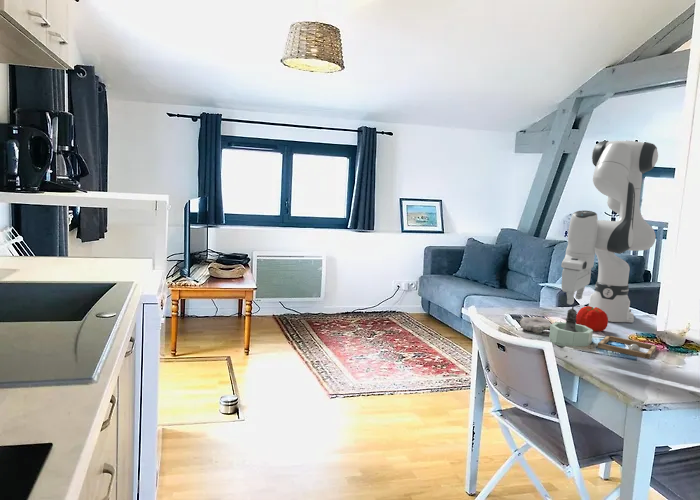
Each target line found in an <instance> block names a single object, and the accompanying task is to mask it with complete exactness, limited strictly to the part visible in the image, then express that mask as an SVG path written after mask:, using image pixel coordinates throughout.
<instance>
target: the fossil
mask: <svg viewBox="0 0 700 500" xmlns="http://www.w3.org/2000/svg"><path fill="white" fill-rule="evenodd" d="M551 324H552V323H551V322H550V320H549V319H548V318H545V317H541V316H531V317H527V316H524V317H522V318H521V320H520V321H519V325H520V327H521V329H523V330H524V331H526V330H527V332H533V333H534V334H541V333H542V332H543V331H545V330H546V331H547V330H550V325H551Z"/></svg>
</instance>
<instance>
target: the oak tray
mask: <svg viewBox="0 0 700 500" xmlns="http://www.w3.org/2000/svg"><path fill="white" fill-rule="evenodd" d="M609 341H610V342H615V341H616V342H615V343H619V342H620V344H625V345H628V346H630V345H631V344H636V345H638V346H639V348H643V349H646V350H647V349H648V351H647V352H641V351H640V350H639V351H640V352H639V351H634V350H630V349H628V348H623V347H621V346H620V347H619V346H616V345H615V346H614V345H611V344H607V343H608V342H609ZM597 348H598V349H602V350H607V351H611V352H616V353H621V354H625V355H629V356H633V357H637V358H641V359H642V358H643V359H646V360H649V359H650V358H651V357H652V356H653V354H654V353H655V352H656V350H657V345H655V344H653V343H646V342H641V341H637V340H632V339H626V338H623V337H617V336H615V335H614V336H613V335H608V334H606V336H605V337H604V338H602V339H601V340H600V341H598V343H597Z"/></svg>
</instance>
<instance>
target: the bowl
mask: <svg viewBox="0 0 700 500" xmlns="http://www.w3.org/2000/svg"><path fill="white" fill-rule="evenodd" d="M565 326H566V321H565V322H564V321H563V322H560V321H555V322H553V323H551V325H550V328H549V336H548V339H549V341H550V343H551V342H552V344H553V345H555V346H558V347H561V348H565V347H566V346H572V347H588V346H590V345H591V344H592V342H593V334H594V331H593V330H592V329H590V328H588V327H586V326H584V325H579V324H576V325H575V328H576V331H578V332H572V331H567V330H563V329H564V328H565Z"/></svg>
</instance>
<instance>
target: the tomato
mask: <svg viewBox="0 0 700 500" xmlns="http://www.w3.org/2000/svg"><path fill="white" fill-rule="evenodd" d="M576 320H577V322H576V324H579V325H584V326H586V327H588V328H590V329H592V330H593V332H604V331H605V330H606V329H607V327H608V325H609V321H608V317H607V314H606V313H605V312H604V311H602V310H601V308H600V309H599V308H597V307H595V308H593V307H590V306H589V305H587V306H583V307H581V308H580V309H579V310H578V311H577V315H576Z"/></svg>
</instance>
